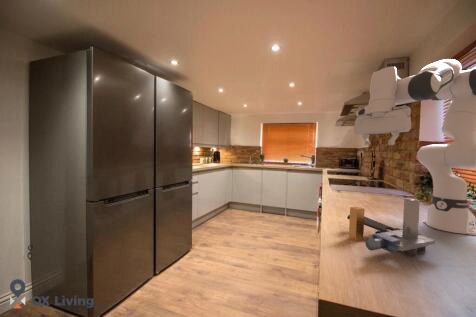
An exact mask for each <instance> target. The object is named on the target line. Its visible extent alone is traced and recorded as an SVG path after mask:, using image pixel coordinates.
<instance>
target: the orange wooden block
mask: <svg viewBox="0 0 476 317" xmlns="http://www.w3.org/2000/svg"><path fill="white" fill-rule="evenodd" d="M349 215H350V220H349V222H348V225H349V227H348V239H350V240H352V241H354V242H358V241H363V240H364V233H365V231H364V228H365V225H364V216H365V208H364V207H361V206H351V207H350V208H349Z"/></svg>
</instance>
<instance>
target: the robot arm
mask: <svg viewBox="0 0 476 317" xmlns="http://www.w3.org/2000/svg"><path fill="white" fill-rule="evenodd" d="M450 99H451V100H450ZM429 100H431V101H442V100H450V102H449V104H448V105H447V109H446V112H445V114H444V117H443V118H444V119H443V123H442V127H441V133H442V134H443V135H444V136H445V137H447V138H448V139H449V138H450V139H453V142H452V143H439V144H438V143H437V144H436V143H434V144H428V145H425V146H424V145H423V146H421V147H420V148H419V149H418V151H417V154H416V157H417V158H416V159H417V160H418V163H420V164H421V165H423V167H425V168H426V169H427V171H428V172H429V174H430V175H431V178H432V186H433V187H432V189H433V192H432V195H431V199H430V200H431V201H430V202H431V205H429V206H428V207H427V212H426V219H423V223H424V224H426V225H427V226H428V227H430V228H433V229H436V230H439V231H440V230H441V231H444V232H449V233H454V234H455V233H456V234H464V235H471V236H476V216H475V215H474V214H473V212H472V211H471V210H470V209H469V207H470V206H469V205H471V203H472V201H471V200H470V199H467V197H468V196H467V194H468V184H467V182H466V180H465V179H464V178H462V177H461V176H459V175H458V176H457V175H456V174H455V173H454V171H453V169H468V170H469V169H476V67H474V68H472V69H467V70H462V63H460V62H459V61H458V60H456V59H453V58H452V59H451V58H450V59H449V58H447V59H441V60H438V61H435V62H433V63H430V64H427V65H426V66H424V67H423V68H422V69H421V70H420V71H418V73H417V74H415V75H411V76H407V77H404V78H400V77H399V75H398V70H397V67H396V66H385V67H381V68H379V69H376V70H374V71H373V73H372V74H371V77H370V84H369V100H368V105H365V106H364V107H363V108H361V109H359V110H357V111H356V112H355V113H356V114H355V115H356V116H355V117H356V119H355V121H354V126H353V132H354V134H355V135H357V136H361V137H362V139H363V141H364V142H363V143H364V144H363V145H364V146H366V147H367V146H368V147H369V146H371V143H372V142H371V140H369V137H370V135H380V134H391V135H392V136H391V137H390V139H387V145H388V146H394V145H396V140H397V139H398V138H399V136H400V133H407V132H410V130H411V129H412V119H411V118H412V117H411V114H412V108H411V106H407V105H406V104H409V103H410V104H411V103H414V102H421V101H429ZM398 105H399V106H398ZM400 105H402V106H400ZM452 168H453V169H452Z"/></svg>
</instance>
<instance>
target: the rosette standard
mask: <svg viewBox="0 0 476 317" xmlns="http://www.w3.org/2000/svg"><path fill="white" fill-rule="evenodd" d="M420 205H421V201H420V200H419V199H417V198H416V199H415V198H406V197H405V198H403V215H402V216H403V217H402V229H403V230H395V231H391V230H388V231H389V232H383V233H377V234H375V233H371V234H369V238H368V239H366V240H365V243H364V244H365V247H366V248H367V249H368V250H369V251H376V250H381V249H383V250H384V251H386V252H389V253H394V252H400V251H401V254H403V255H404V256H408V257H413V258H414V257H415V258H416V257H418V253H417V248H419V247H424V246H426V247H427V246H432V245H433V246H434V245H436V243H437V242H436V241H437V240H436V239H434V238H430V237H427V236H424V235H422V234H421V235H422V236H421V235H418V234H419V224H420Z"/></svg>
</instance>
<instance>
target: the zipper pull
mask: <svg viewBox="0 0 476 317" xmlns="http://www.w3.org/2000/svg"><path fill="white" fill-rule="evenodd" d="M346 219H347V220H349V221H350V214H349V215H347V218H346ZM364 226H366V227H369V228H371V229H374V230H377V231H375V232H374V234H377V233H383V232H389V231H395V230H403V228H398V227H392V226H390V225H388V224H385V223H382V222H379V221H376V220H375V219H372V218H369V217H367V216H365V215H364ZM418 235H421V236H423V234H421V233H418ZM426 247H427V246H424V247H419V248H417V254H422V253H424V252H425V251H426V250H427V249H426Z"/></svg>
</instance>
